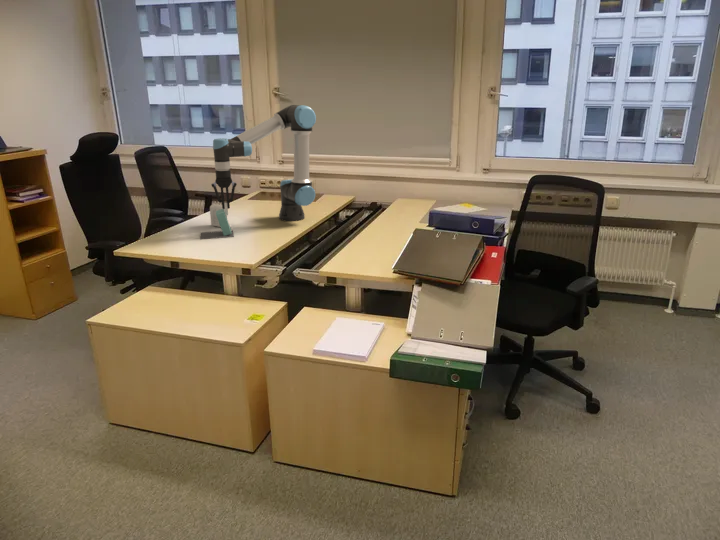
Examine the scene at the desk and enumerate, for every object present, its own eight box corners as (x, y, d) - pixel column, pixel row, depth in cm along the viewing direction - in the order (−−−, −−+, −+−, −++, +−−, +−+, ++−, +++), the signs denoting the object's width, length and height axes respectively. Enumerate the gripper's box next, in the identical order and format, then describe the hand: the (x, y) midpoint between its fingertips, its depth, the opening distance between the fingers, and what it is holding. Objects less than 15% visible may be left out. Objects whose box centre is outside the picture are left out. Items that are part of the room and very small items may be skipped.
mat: (233, 230, 288) (233, 230, 288) (233, 236, 276) (233, 236, 276) (200, 232, 284) (200, 232, 284) (200, 239, 272) (200, 238, 272)
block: (231, 229, 285) (223, 208, 281) (231, 233, 277) (223, 212, 273) (223, 231, 285) (216, 211, 280) (224, 236, 276) (216, 214, 272)
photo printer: (229, 226, 297) (227, 204, 293) (223, 228, 293) (221, 206, 289) (215, 224, 302) (213, 203, 298) (210, 225, 298) (208, 204, 294)
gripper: (235, 168, 275) (238, 212, 283) (209, 169, 272) (213, 213, 280) (236, 170, 268) (239, 215, 276) (209, 171, 265) (213, 217, 273)
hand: (226, 214), depth 278 cm, fingers closed
